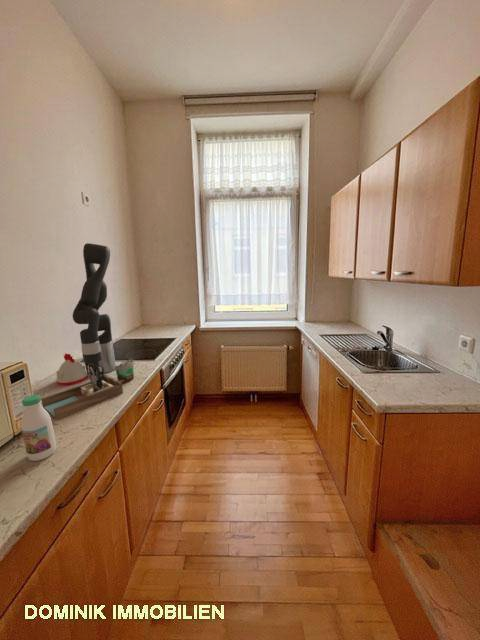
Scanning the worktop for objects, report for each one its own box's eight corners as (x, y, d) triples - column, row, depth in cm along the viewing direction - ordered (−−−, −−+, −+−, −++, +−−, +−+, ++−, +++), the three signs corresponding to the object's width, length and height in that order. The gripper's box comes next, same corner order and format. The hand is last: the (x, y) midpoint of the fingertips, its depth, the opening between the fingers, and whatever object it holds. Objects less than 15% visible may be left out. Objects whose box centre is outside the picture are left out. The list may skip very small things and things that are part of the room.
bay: (43, 408, 116) (40, 396, 115) (106, 384, 138) (105, 374, 137) (56, 420, 107) (54, 407, 106) (123, 392, 128) (121, 382, 127)
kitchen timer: (77, 373, 154) (73, 348, 151) (92, 377, 148) (88, 351, 145) (52, 383, 142) (47, 356, 139) (67, 387, 136) (62, 359, 133)
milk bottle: (38, 446, 91) (26, 392, 87) (61, 444, 92) (51, 391, 87) (22, 463, 83) (8, 404, 79) (48, 460, 84) (36, 403, 80)
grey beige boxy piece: (81, 393, 126) (78, 375, 125) (102, 385, 134) (100, 368, 132) (92, 400, 119) (89, 381, 117) (114, 391, 127) (112, 374, 125)
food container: (127, 385, 137) (125, 366, 135) (116, 384, 138) (114, 366, 136) (140, 375, 148) (138, 358, 146) (130, 374, 150) (128, 357, 148)
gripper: (76, 350, 124) (81, 384, 127) (90, 356, 115) (95, 392, 119) (93, 346, 130) (97, 378, 133) (107, 351, 121) (112, 386, 124)
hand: (96, 385), depth 126 cm, fingers open, 5 cm apart
